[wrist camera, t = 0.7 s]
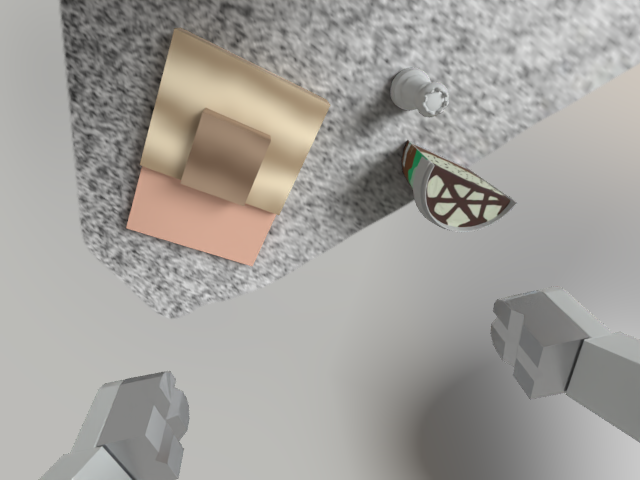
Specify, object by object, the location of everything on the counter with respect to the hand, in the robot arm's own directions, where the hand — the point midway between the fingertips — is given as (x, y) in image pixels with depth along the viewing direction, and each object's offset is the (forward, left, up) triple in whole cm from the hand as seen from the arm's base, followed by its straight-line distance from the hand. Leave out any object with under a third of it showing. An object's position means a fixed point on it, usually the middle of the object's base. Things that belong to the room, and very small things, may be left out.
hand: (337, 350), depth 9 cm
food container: (+1, +21, -36) cm, 42 cm away
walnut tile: (+8, -3, -33) cm, 34 cm away
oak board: (+5, -3, -36) cm, 37 cm away
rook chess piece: (-7, +13, -36) cm, 39 cm away
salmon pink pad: (+17, -3, -36) cm, 40 cm away
